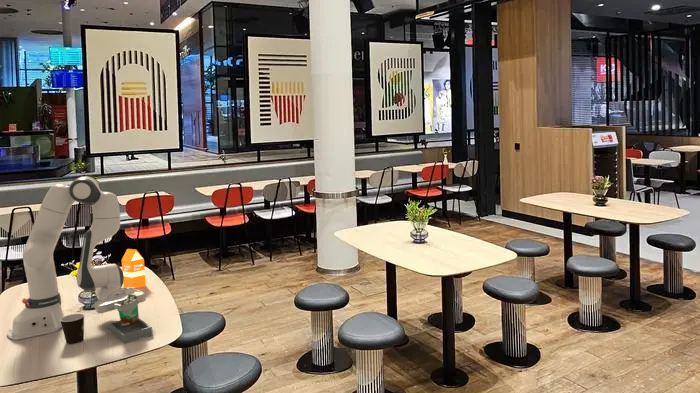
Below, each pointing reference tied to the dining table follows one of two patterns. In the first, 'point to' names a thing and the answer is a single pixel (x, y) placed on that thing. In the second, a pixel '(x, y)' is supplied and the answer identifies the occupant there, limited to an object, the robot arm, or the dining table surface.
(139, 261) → the orange juice
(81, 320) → the coffee mug
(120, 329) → the bin
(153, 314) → the dining table surface
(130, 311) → the ice cream cake half
